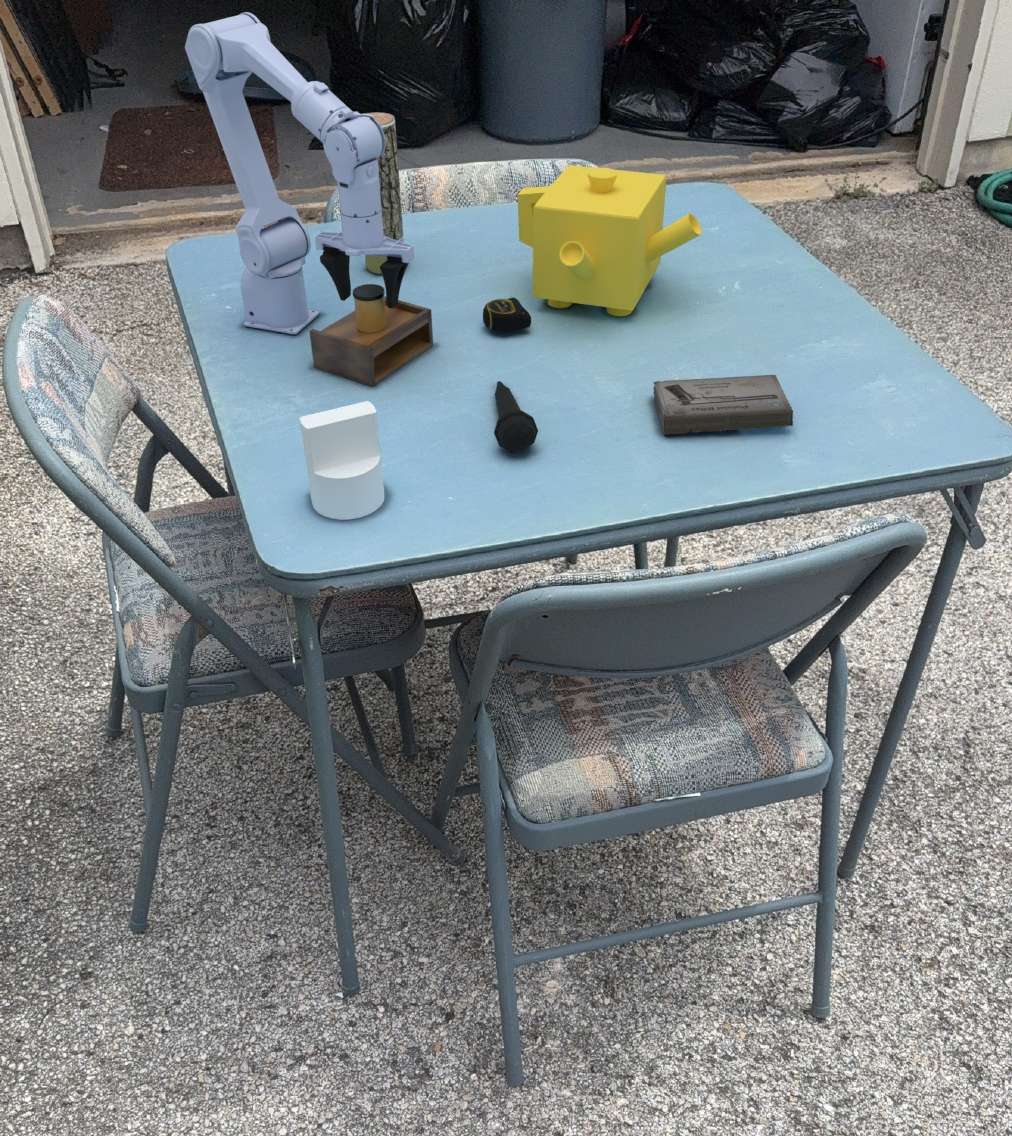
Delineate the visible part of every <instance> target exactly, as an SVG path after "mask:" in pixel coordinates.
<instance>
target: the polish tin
mask: <svg viewBox="0 0 1012 1136" xmlns="http://www.w3.org/2000/svg"><path fill="white" fill-rule="evenodd" d="M384 296H386V289H385V287H383V286H382V285H380V284H376V283H367V284H360V285H358V286H356V287H355V288H353V290H352V297H353V303H354V311H355V313H356V323H357V328H358V330H360V331H362V332H366V333H374V332H379V331H382V330H384V329H385V328H386V326H387V322H386V310H385V298H384Z"/></svg>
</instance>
